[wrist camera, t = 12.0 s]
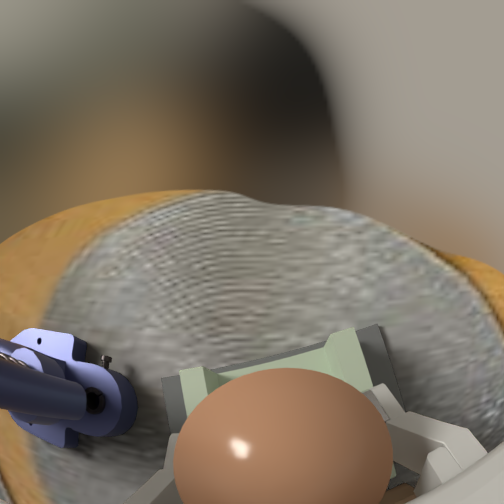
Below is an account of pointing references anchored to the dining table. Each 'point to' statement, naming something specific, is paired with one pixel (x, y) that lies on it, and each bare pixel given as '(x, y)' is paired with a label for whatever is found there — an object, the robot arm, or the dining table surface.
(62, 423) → the hand press
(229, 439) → the mushroom
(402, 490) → the board
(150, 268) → the dining table surface
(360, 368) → the rack
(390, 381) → the mat
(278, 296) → the dining table surface
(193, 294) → the dining table surface
